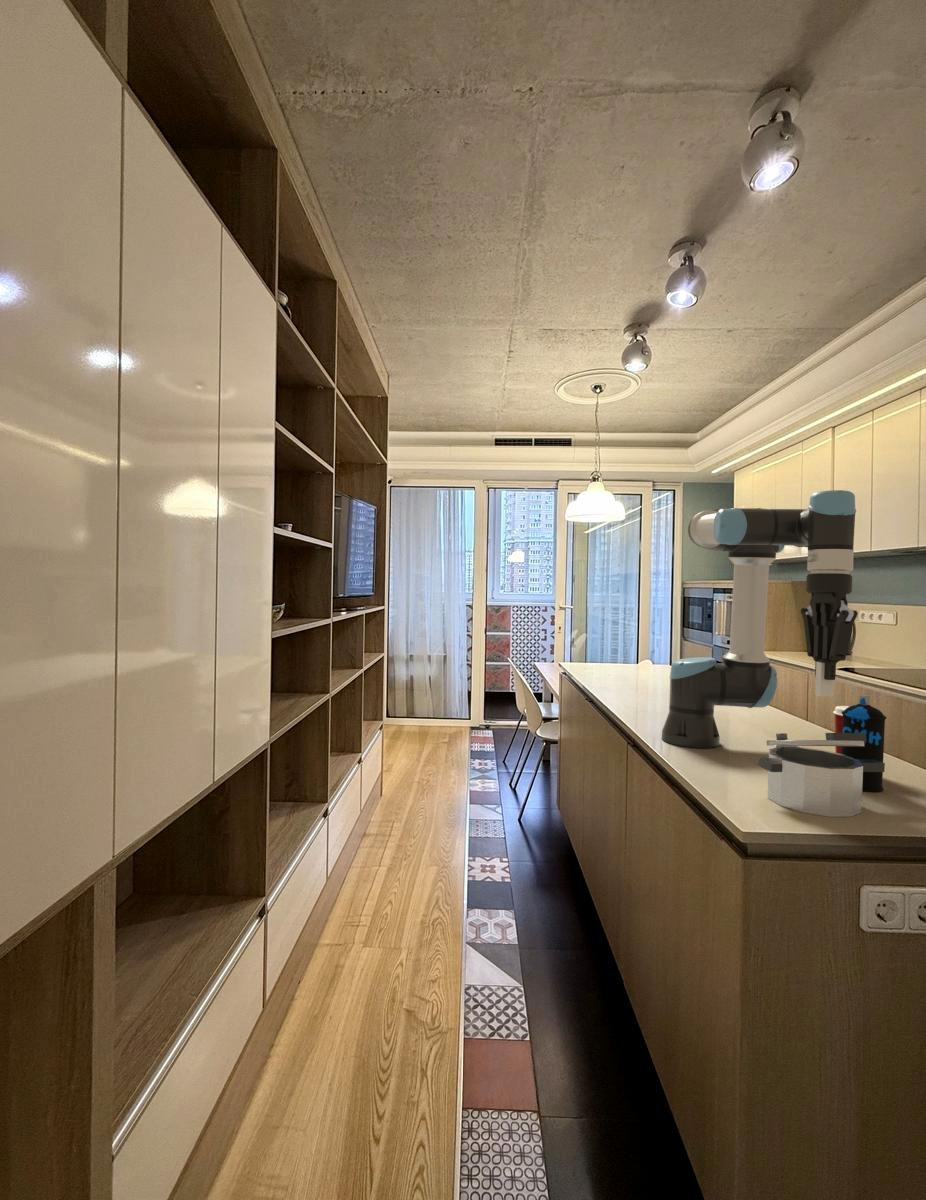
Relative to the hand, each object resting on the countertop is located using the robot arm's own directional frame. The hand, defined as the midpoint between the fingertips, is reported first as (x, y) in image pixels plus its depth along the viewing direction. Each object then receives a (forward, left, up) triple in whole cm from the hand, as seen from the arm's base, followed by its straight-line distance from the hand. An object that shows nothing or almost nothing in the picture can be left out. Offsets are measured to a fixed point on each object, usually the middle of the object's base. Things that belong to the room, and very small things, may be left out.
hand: (824, 696), depth 116 cm
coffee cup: (-26, +26, -22) cm, 43 cm away
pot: (-6, +4, -22) cm, 23 cm away
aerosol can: (-15, +20, -22) cm, 34 cm away
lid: (-5, +3, -11) cm, 13 cm away
